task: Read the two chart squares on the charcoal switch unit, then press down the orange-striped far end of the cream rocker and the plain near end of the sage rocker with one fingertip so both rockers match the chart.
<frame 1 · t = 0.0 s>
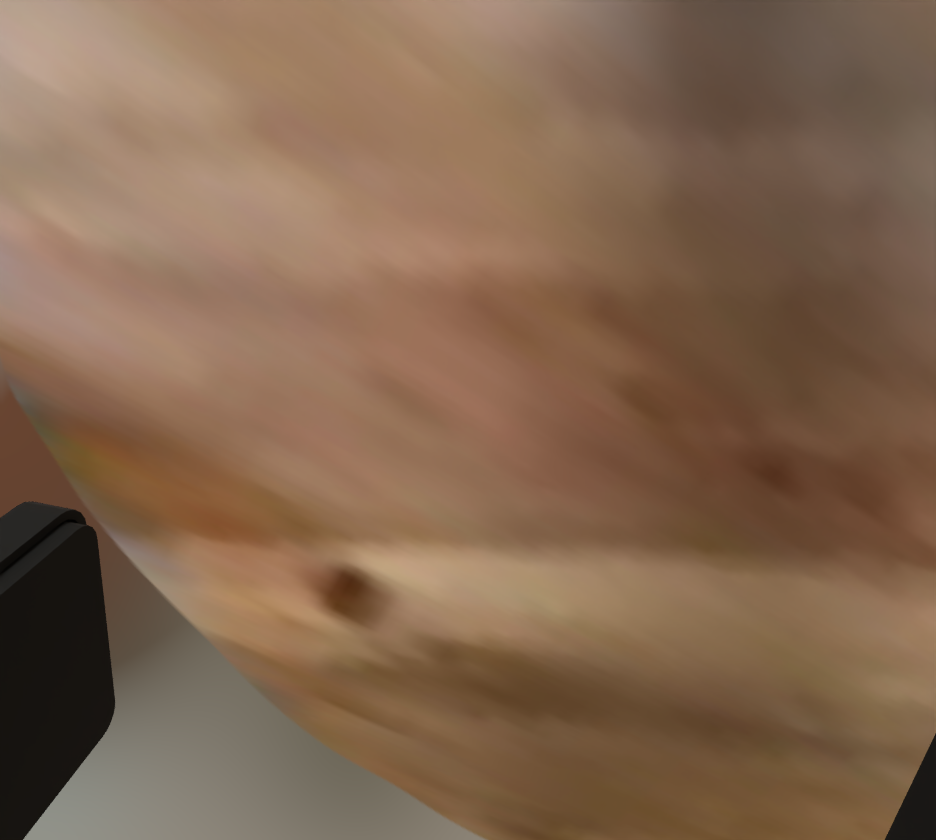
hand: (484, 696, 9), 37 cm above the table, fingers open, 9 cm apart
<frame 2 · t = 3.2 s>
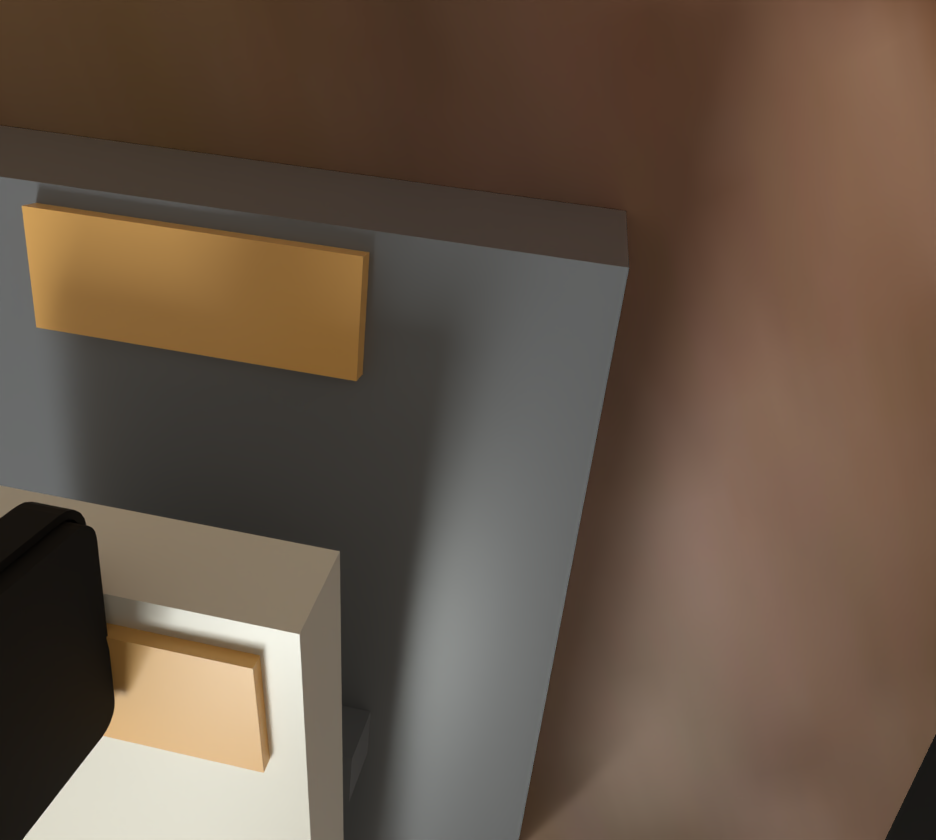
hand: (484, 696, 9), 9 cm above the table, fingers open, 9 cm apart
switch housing: (80, 508, 20), on the table
cream rocker: (147, 804, 13), point 7 cm above the table, hinge at -9.0°, touching gripper
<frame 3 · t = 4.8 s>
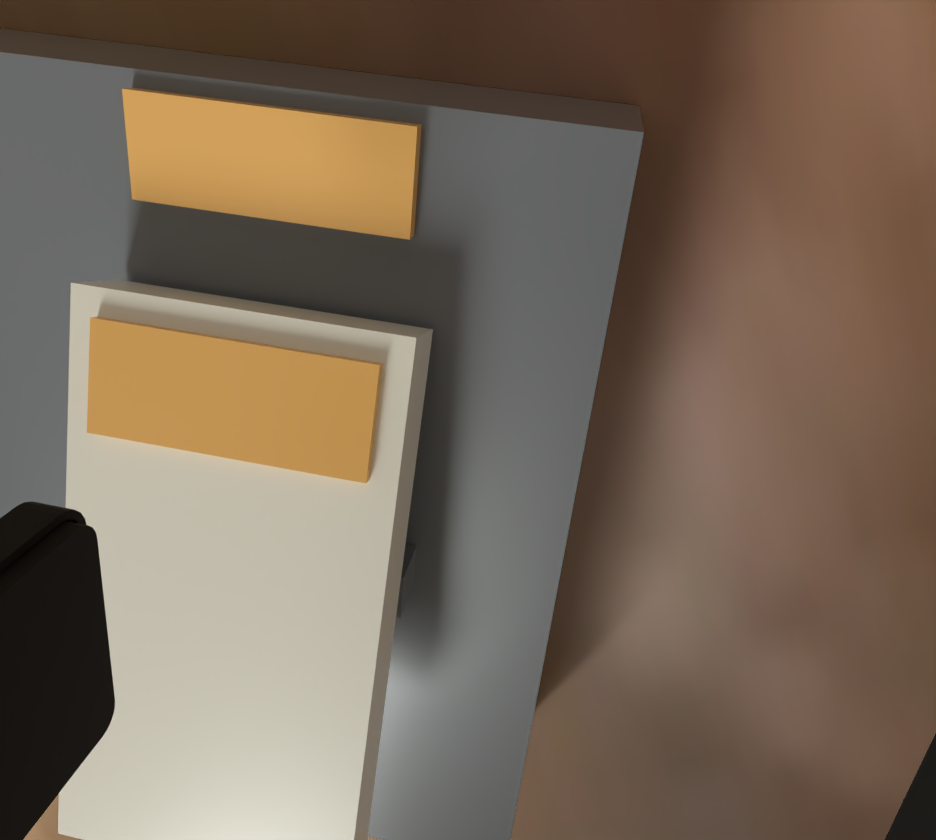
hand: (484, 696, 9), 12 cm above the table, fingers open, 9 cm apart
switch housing: (143, 397, 22), on the table
cream rocker: (231, 599, 15), point 7 cm above the table, hinge at 13.9°
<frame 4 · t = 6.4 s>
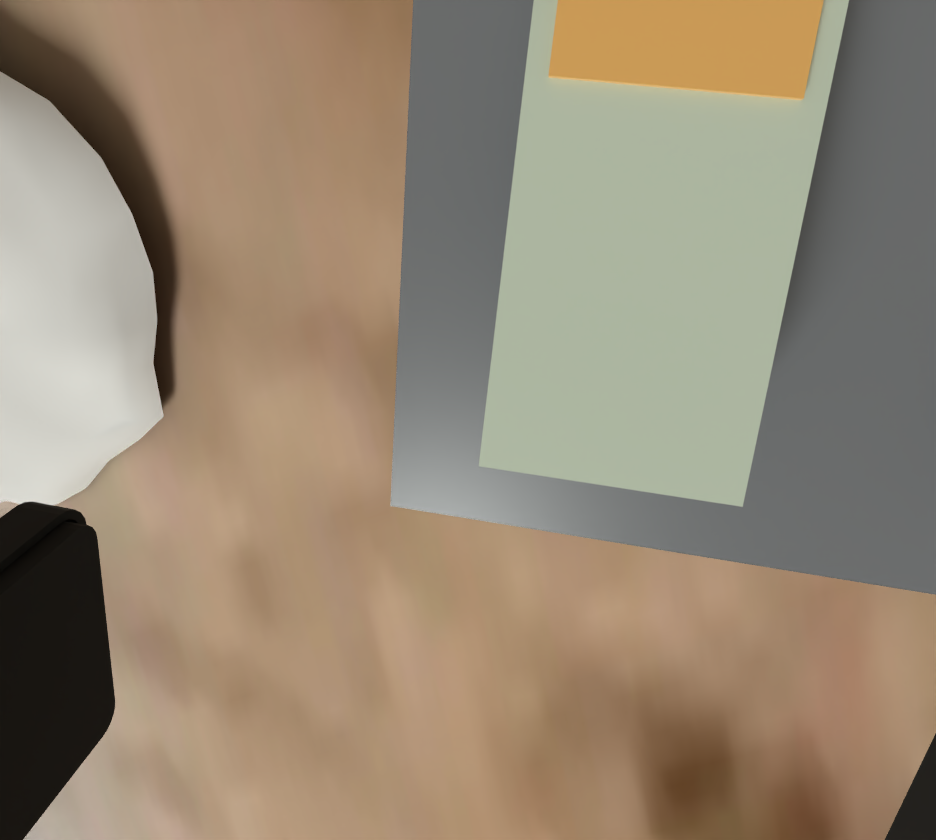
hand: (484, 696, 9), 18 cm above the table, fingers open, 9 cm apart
sage rocker: (646, 240, 17), point 7 cm above the table, hinge at 10.0°
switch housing: (845, 220, 23), on the table
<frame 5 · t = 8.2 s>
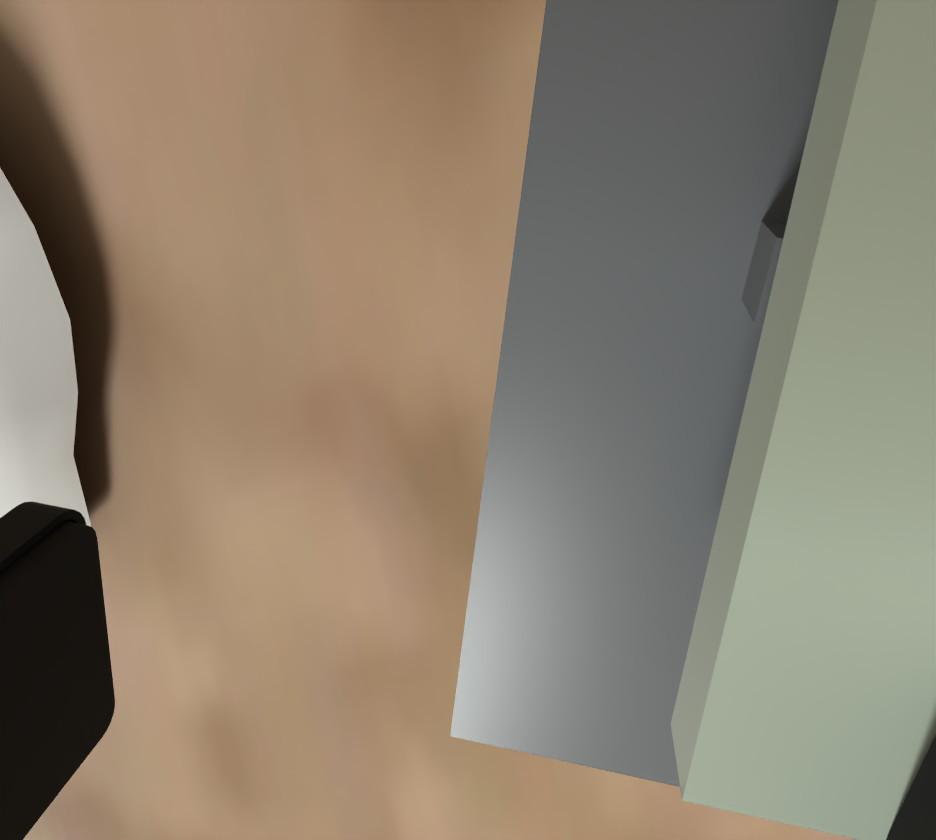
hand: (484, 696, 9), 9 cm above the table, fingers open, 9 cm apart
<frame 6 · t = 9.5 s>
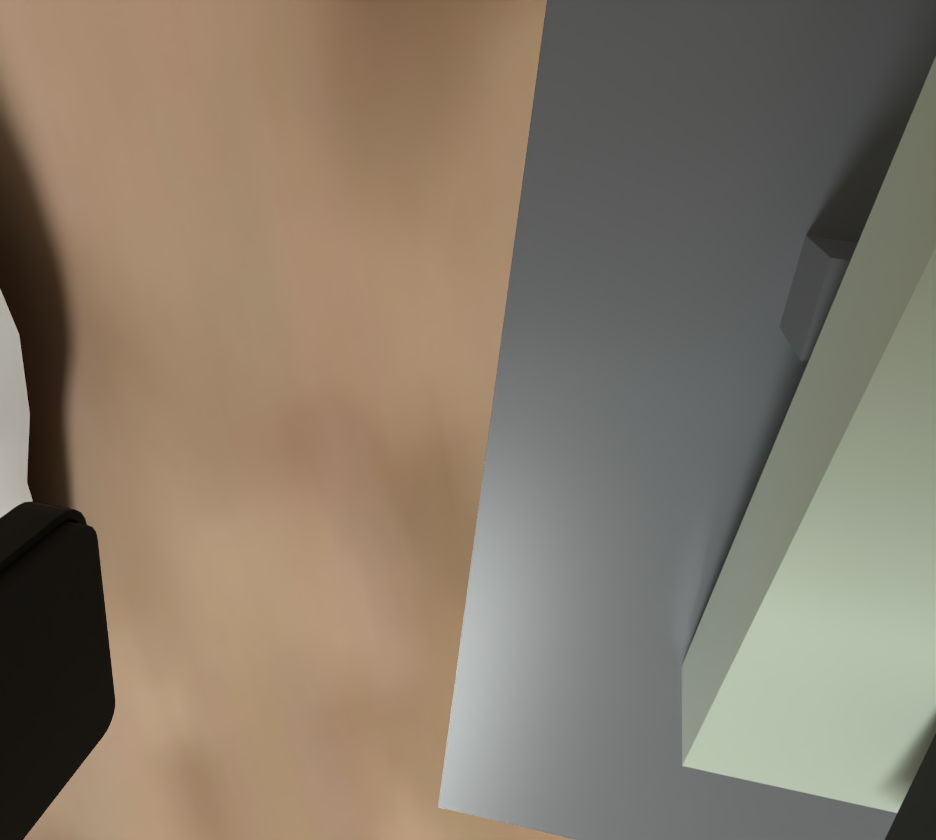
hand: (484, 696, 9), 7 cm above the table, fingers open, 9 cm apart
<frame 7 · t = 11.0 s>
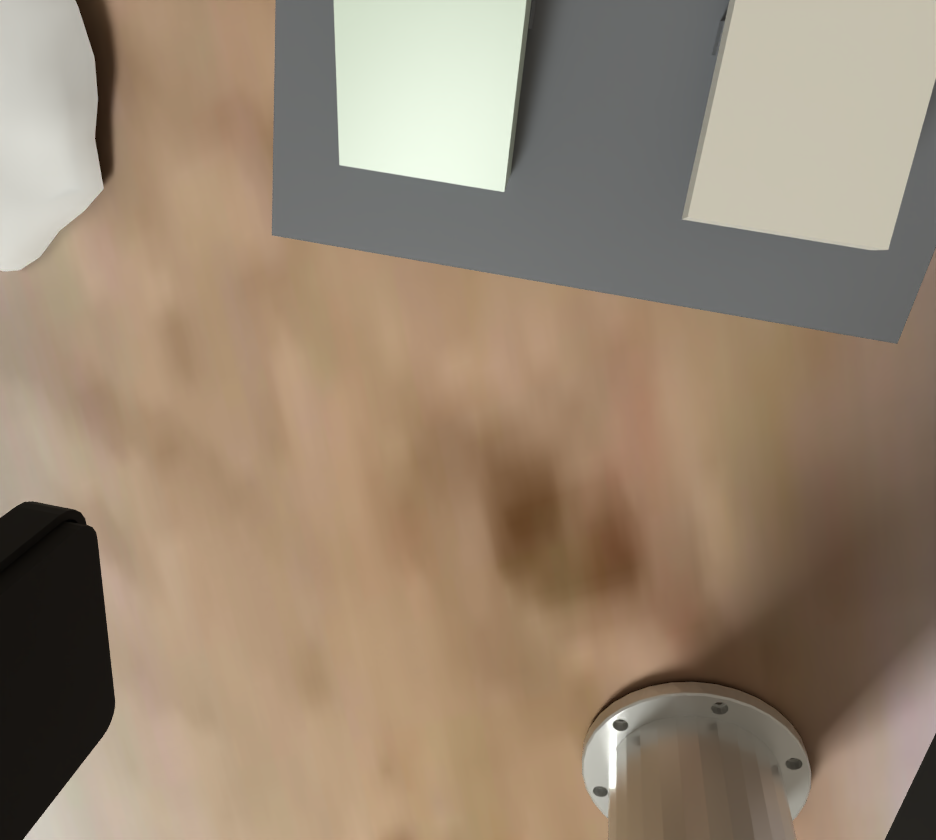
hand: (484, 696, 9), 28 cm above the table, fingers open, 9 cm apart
sage rocker: (431, 5, 25), point 7 cm above the table, hinge at -16.1°, touching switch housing
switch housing: (622, 27, 31), on the table
cream rocker: (828, 45, 23), point 7 cm above the table, hinge at 14.1°
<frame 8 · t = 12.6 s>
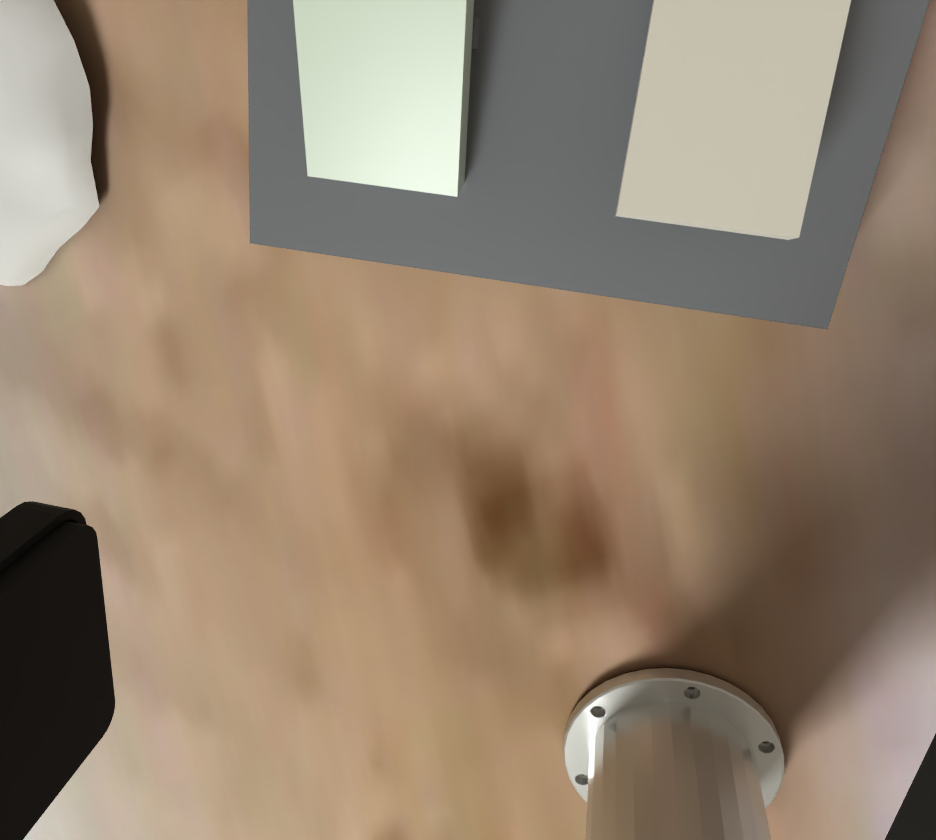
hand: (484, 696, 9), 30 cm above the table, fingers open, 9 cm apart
sage rocker: (383, 29, 28), point 7 cm above the table, hinge at -16.1°, touching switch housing
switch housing: (568, 46, 33), on the table
cream rocker: (737, 55, 26), point 7 cm above the table, hinge at 14.1°
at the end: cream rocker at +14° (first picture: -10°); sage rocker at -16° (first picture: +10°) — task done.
